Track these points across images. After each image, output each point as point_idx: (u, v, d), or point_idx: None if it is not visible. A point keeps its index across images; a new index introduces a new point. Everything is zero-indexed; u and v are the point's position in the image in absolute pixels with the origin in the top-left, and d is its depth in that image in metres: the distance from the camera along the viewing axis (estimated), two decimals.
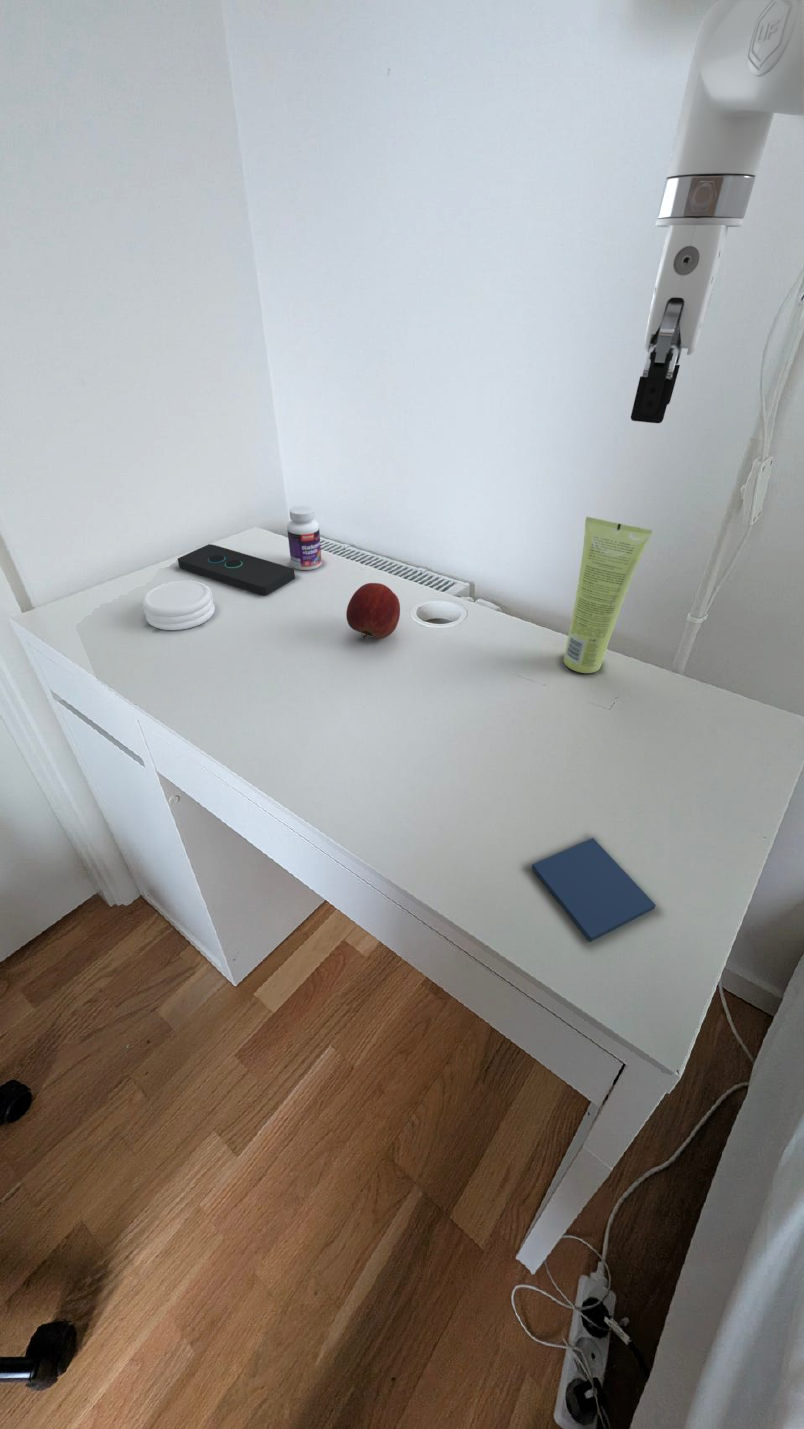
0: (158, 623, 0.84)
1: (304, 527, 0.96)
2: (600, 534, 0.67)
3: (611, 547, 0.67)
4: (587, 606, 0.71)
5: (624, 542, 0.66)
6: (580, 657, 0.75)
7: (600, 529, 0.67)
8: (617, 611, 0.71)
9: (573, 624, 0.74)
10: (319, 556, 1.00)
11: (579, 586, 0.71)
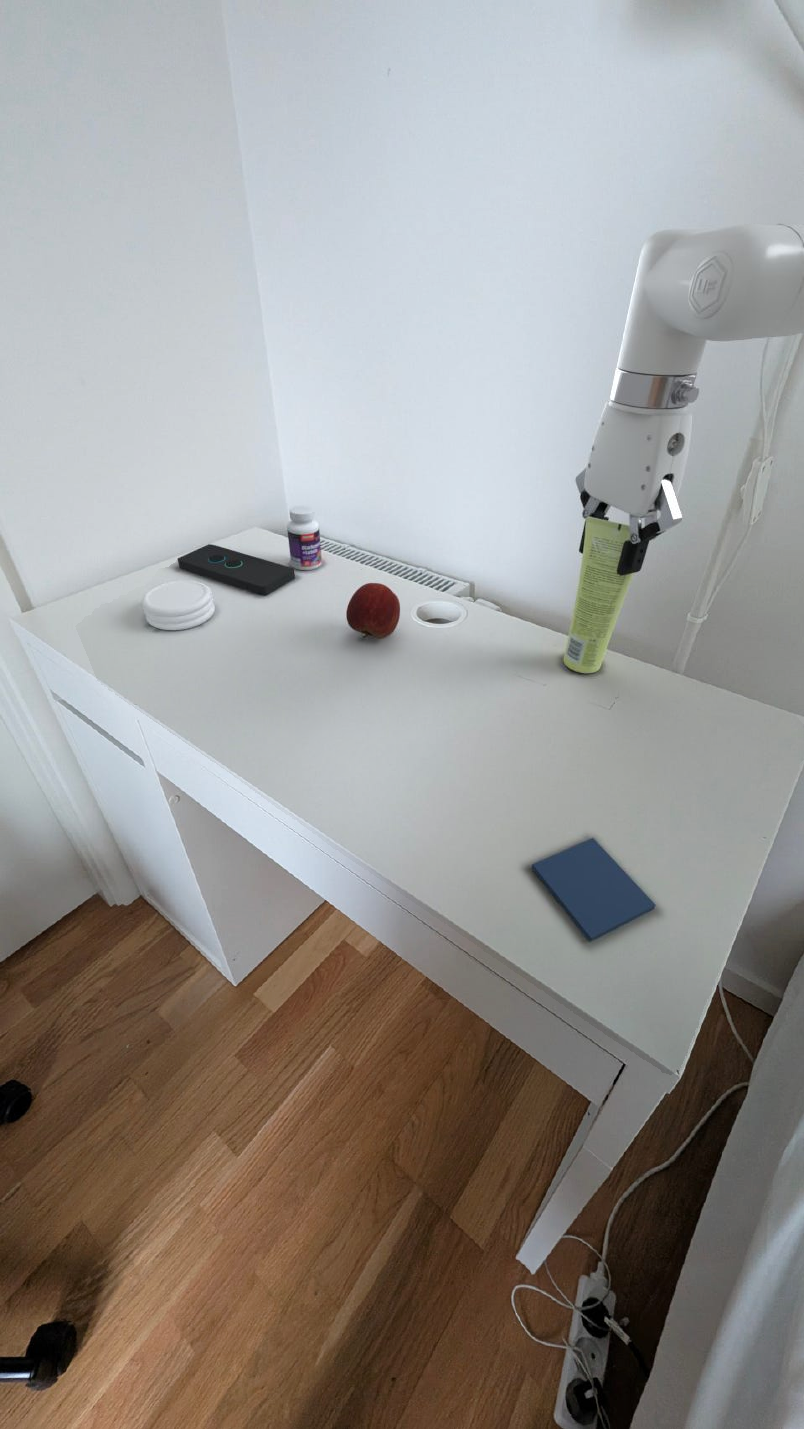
0: (158, 623, 0.84)
1: (304, 527, 0.96)
2: (601, 534, 0.67)
3: (611, 547, 0.67)
4: (587, 606, 0.71)
5: None
6: (580, 657, 0.75)
7: (601, 529, 0.67)
8: (617, 611, 0.71)
9: (573, 624, 0.74)
10: (319, 556, 1.00)
11: (579, 586, 0.71)
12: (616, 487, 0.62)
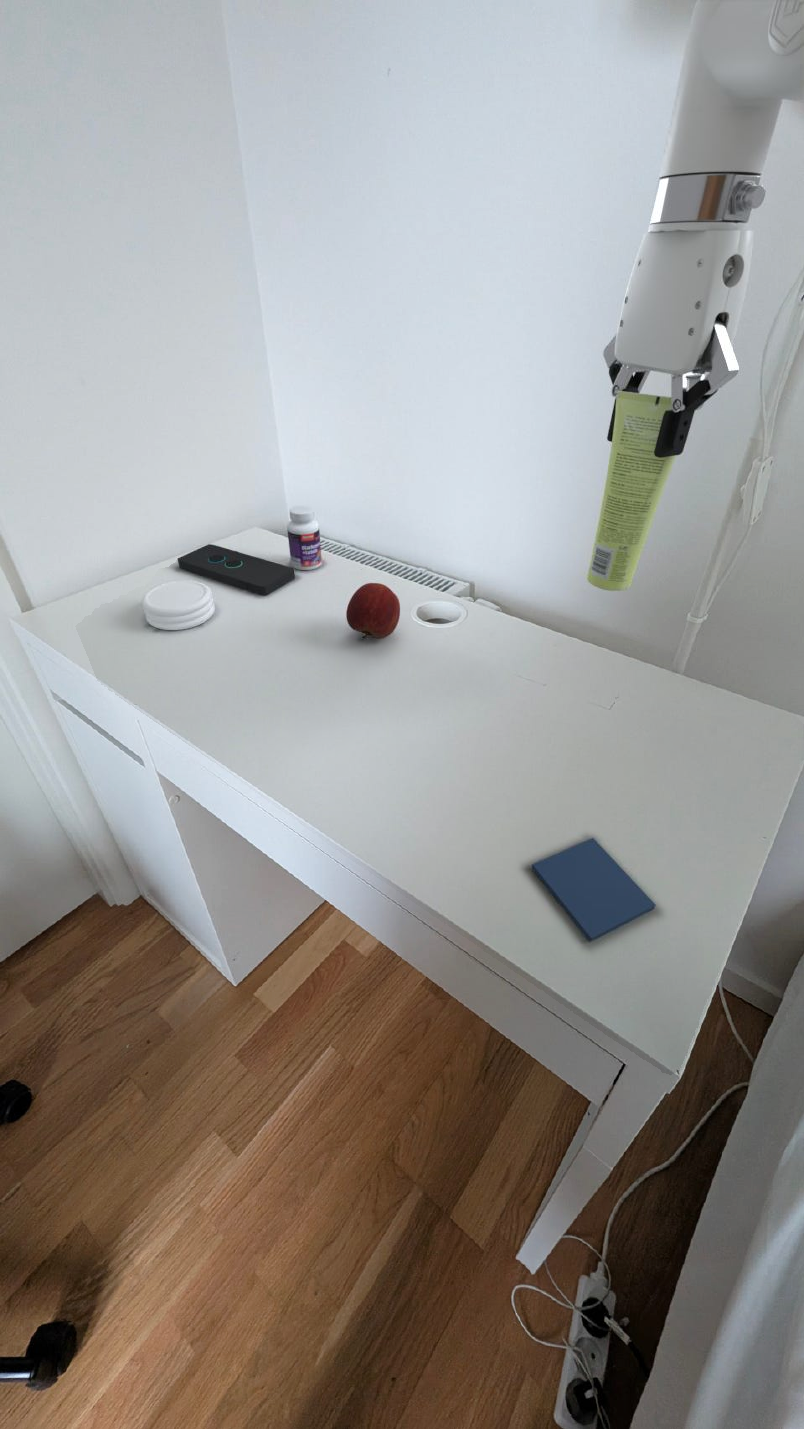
0: (158, 623, 0.84)
1: (304, 527, 0.96)
2: (634, 412, 0.56)
3: (647, 427, 0.56)
4: (617, 505, 0.60)
5: None
6: (607, 570, 0.64)
7: (634, 406, 0.56)
8: (653, 510, 0.60)
9: (599, 531, 0.63)
10: (319, 556, 1.00)
11: (608, 481, 0.61)
12: (656, 341, 0.51)
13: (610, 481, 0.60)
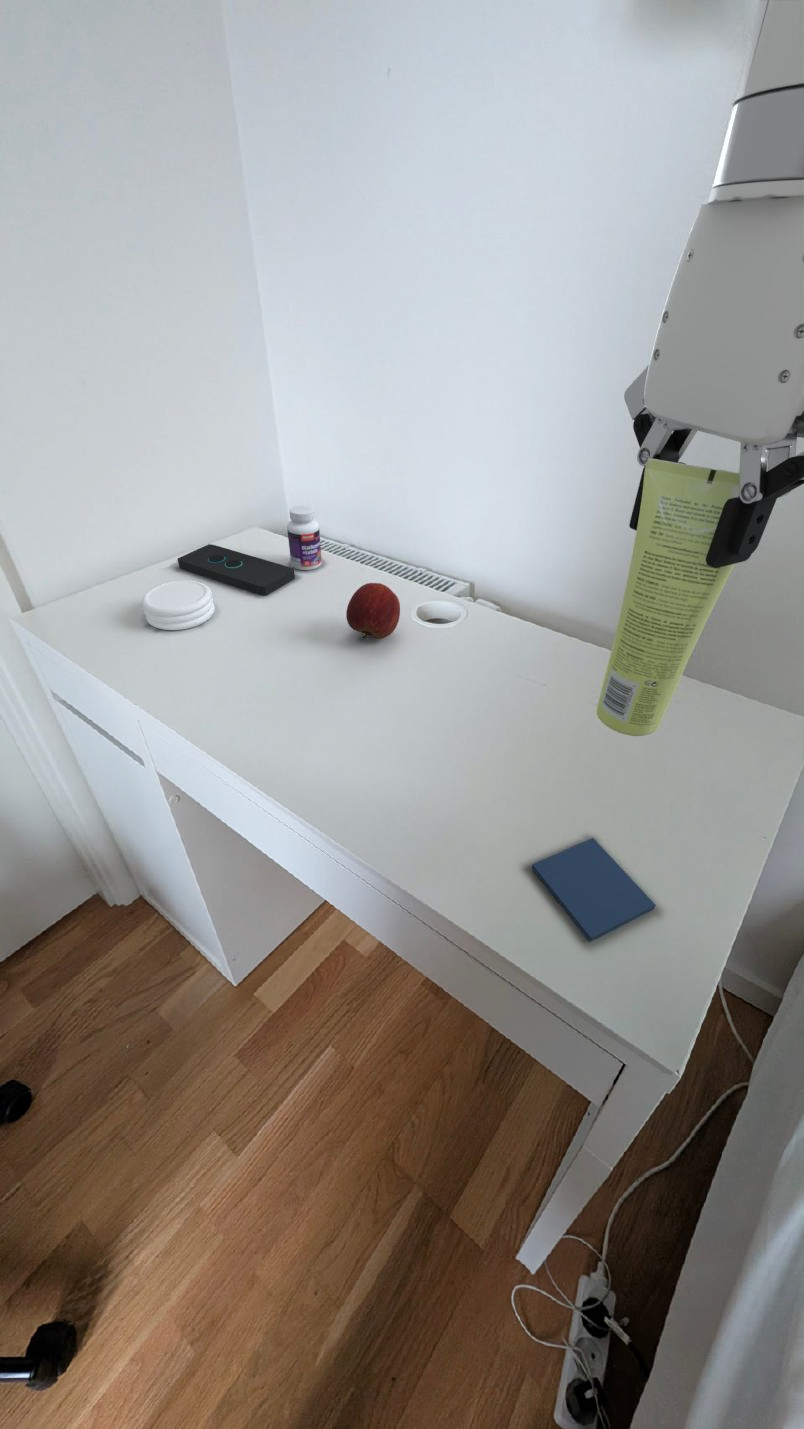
0: (158, 623, 0.84)
1: (304, 527, 0.96)
2: (674, 492, 0.36)
3: (694, 516, 0.36)
4: (644, 625, 0.40)
5: (722, 505, 0.35)
6: (627, 710, 0.44)
7: (674, 482, 0.36)
8: (698, 633, 0.40)
9: (615, 655, 0.43)
10: (319, 556, 1.00)
11: (629, 589, 0.40)
12: (716, 388, 0.30)
13: (633, 589, 0.40)
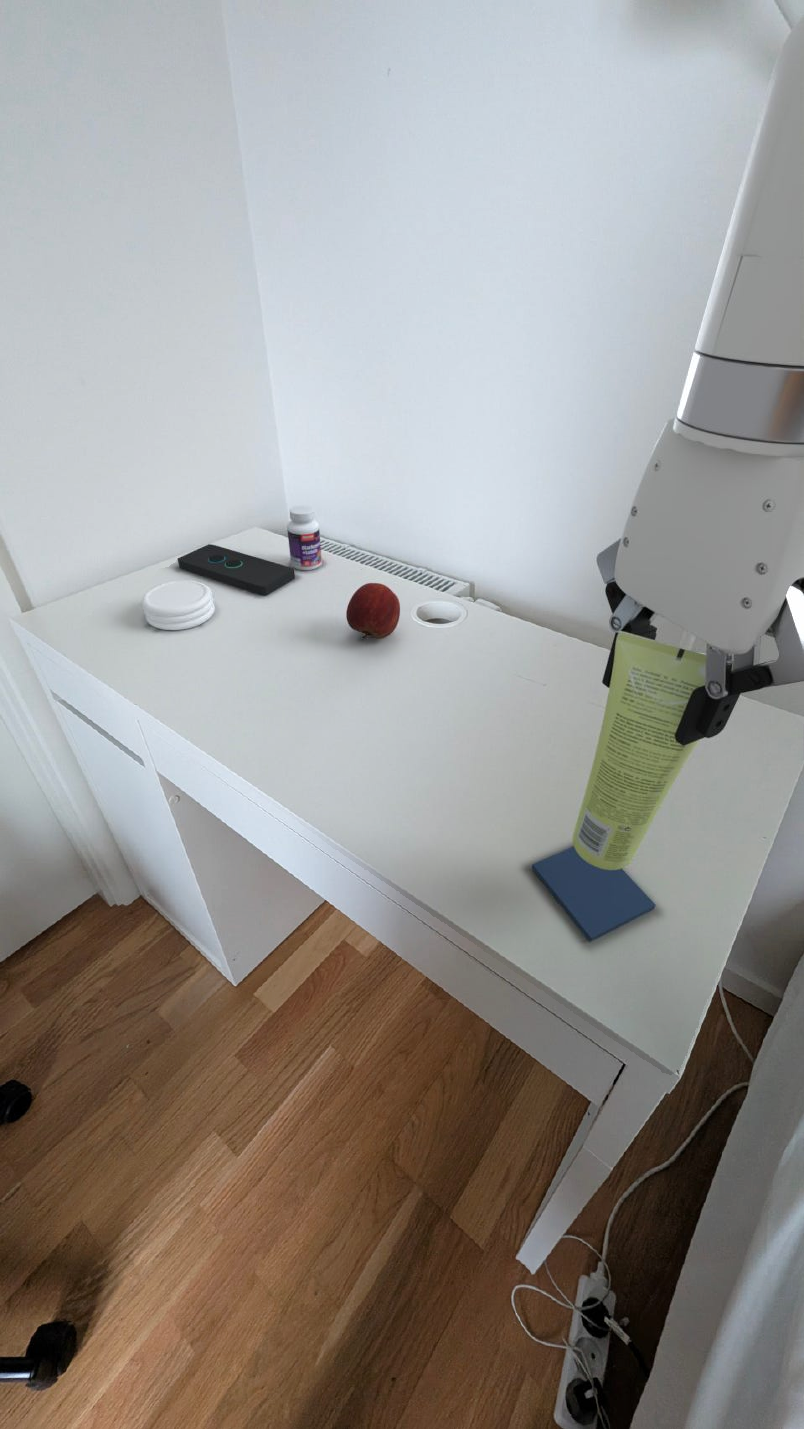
0: (158, 623, 0.84)
1: (304, 527, 0.96)
2: (644, 664, 0.36)
3: (664, 688, 0.36)
4: (617, 778, 0.40)
5: (690, 682, 0.36)
6: (601, 848, 0.44)
7: (644, 655, 0.36)
8: (669, 786, 0.40)
9: (590, 797, 0.43)
10: (319, 556, 1.00)
11: (602, 742, 0.41)
12: (683, 592, 0.31)
13: (606, 744, 0.40)
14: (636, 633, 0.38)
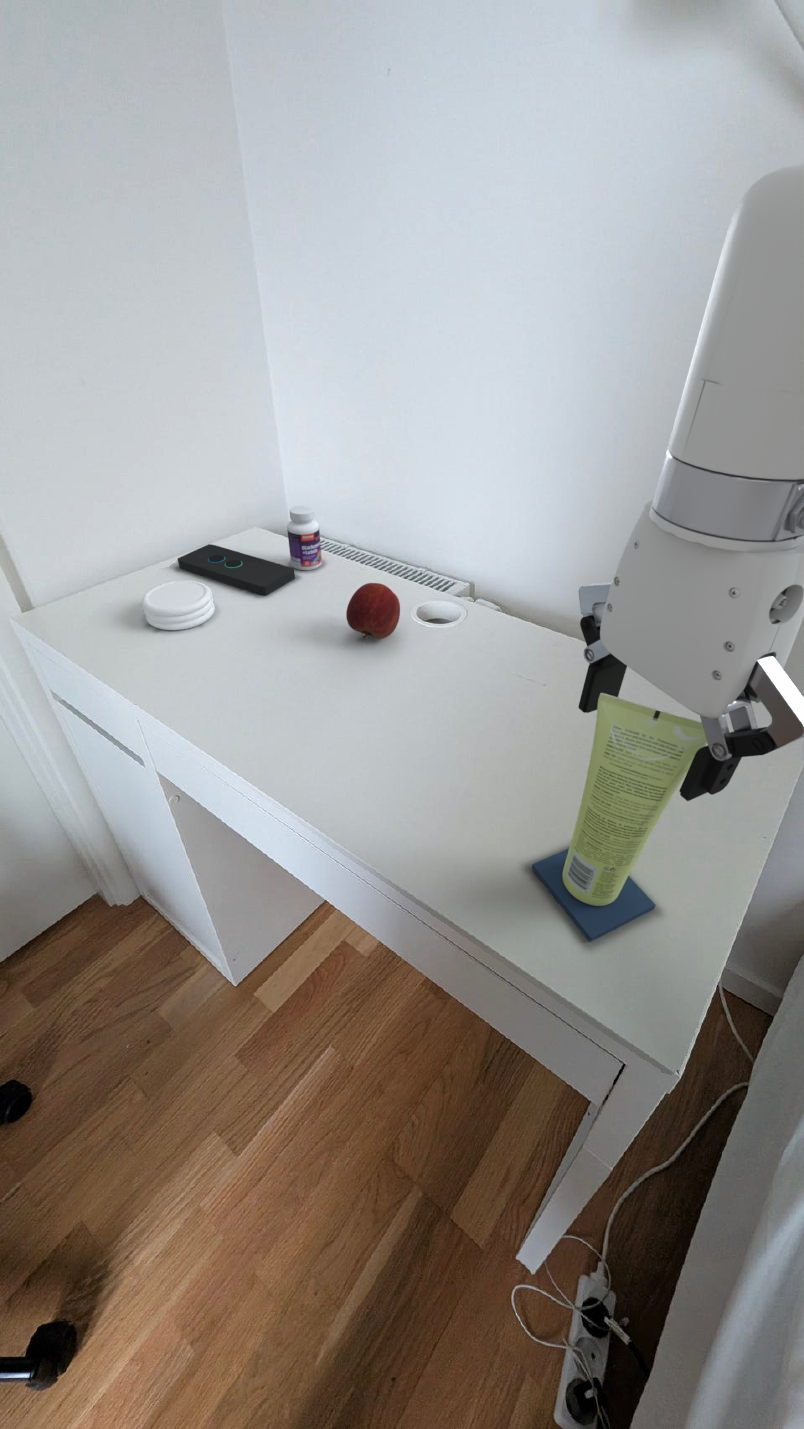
0: (158, 623, 0.84)
1: (304, 527, 0.96)
2: (624, 723, 0.40)
3: (643, 745, 0.40)
4: (601, 824, 0.44)
5: (666, 740, 0.39)
6: (589, 886, 0.47)
7: (624, 715, 0.40)
8: (650, 831, 0.43)
9: (577, 839, 0.46)
10: (319, 556, 1.00)
11: (588, 791, 0.44)
12: (660, 659, 0.34)
13: (591, 793, 0.43)
14: (608, 663, 0.41)
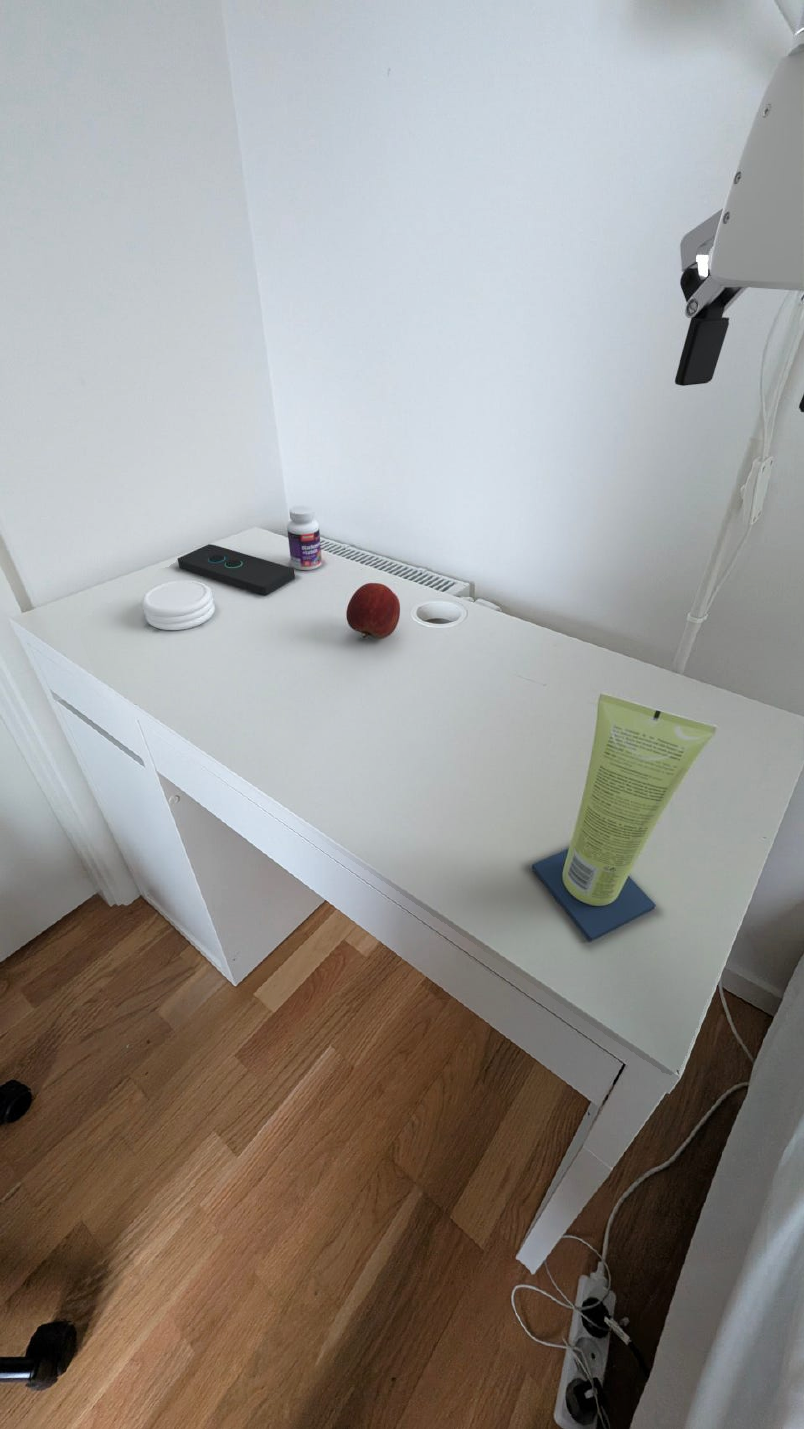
0: (158, 623, 0.84)
1: (304, 527, 0.96)
2: (624, 723, 0.40)
3: (643, 745, 0.40)
4: (601, 824, 0.44)
5: (666, 740, 0.39)
6: (589, 886, 0.47)
7: (624, 715, 0.40)
8: (650, 831, 0.43)
9: (577, 839, 0.46)
10: (319, 556, 1.00)
11: (588, 791, 0.44)
12: (790, 238, 0.33)
13: (591, 793, 0.43)
14: (711, 317, 0.40)
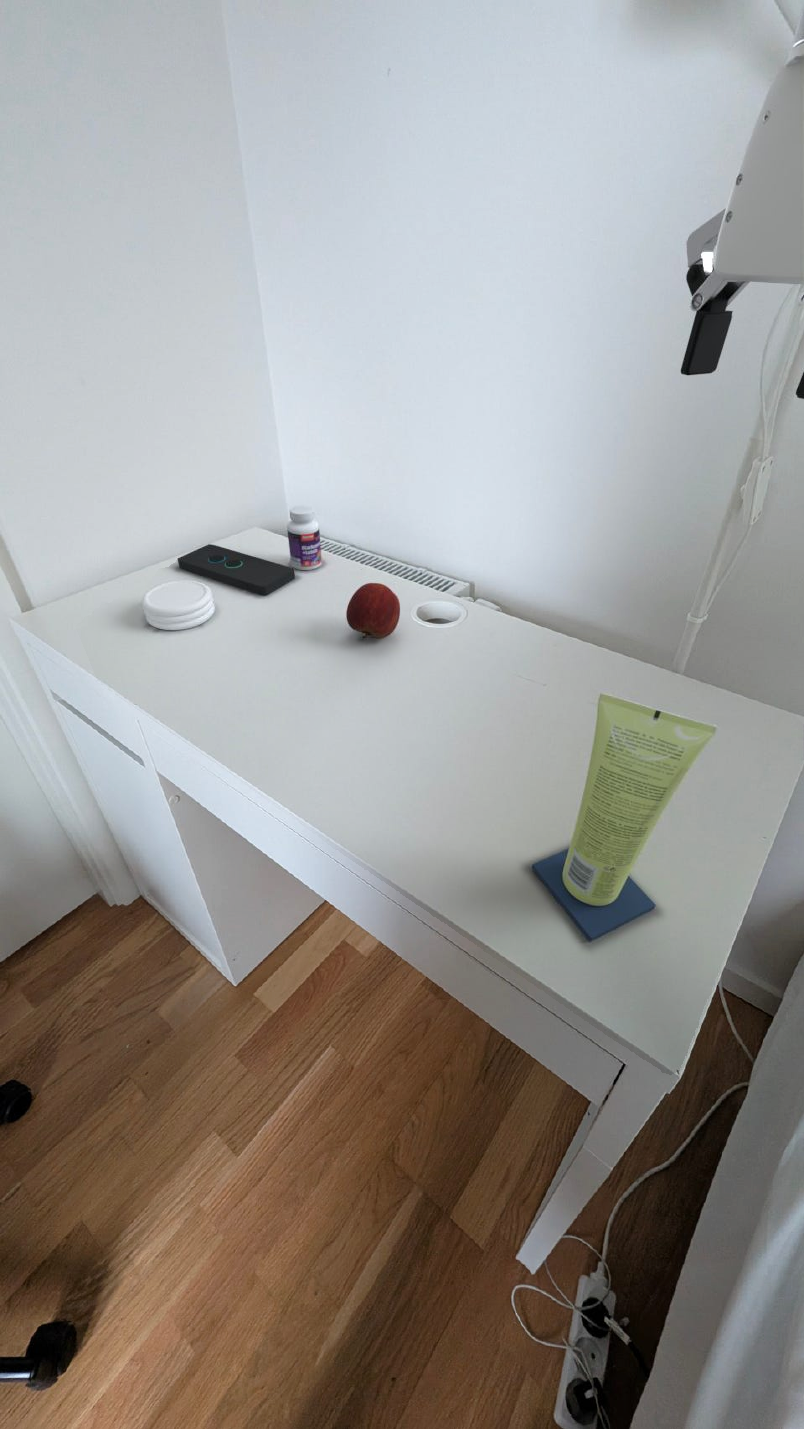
0: (158, 623, 0.84)
1: (304, 527, 0.96)
2: (624, 723, 0.40)
3: (643, 745, 0.40)
4: (601, 824, 0.44)
5: (666, 740, 0.39)
6: (589, 886, 0.47)
7: (624, 715, 0.40)
8: (650, 831, 0.43)
9: (577, 839, 0.46)
10: (319, 556, 1.00)
11: (588, 791, 0.44)
12: (787, 235, 0.35)
13: (591, 792, 0.43)
14: (715, 310, 0.42)
